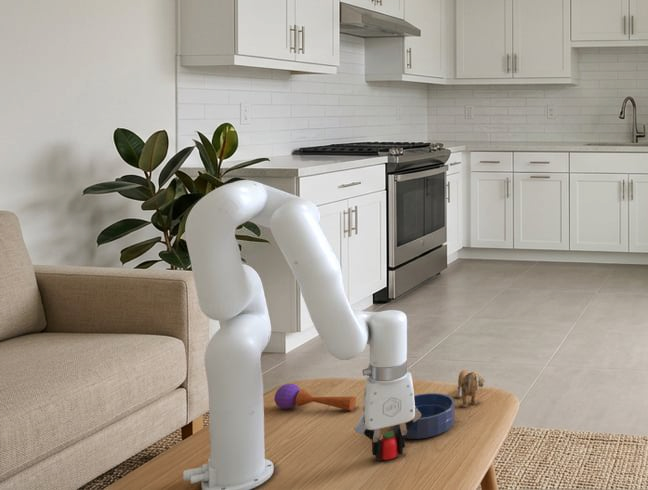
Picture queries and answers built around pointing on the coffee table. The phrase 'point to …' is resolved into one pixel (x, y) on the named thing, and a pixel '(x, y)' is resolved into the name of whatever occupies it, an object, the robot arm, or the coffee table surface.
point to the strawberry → (389, 445)
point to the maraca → (308, 398)
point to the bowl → (431, 415)
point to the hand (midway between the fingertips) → (388, 453)
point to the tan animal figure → (469, 385)
